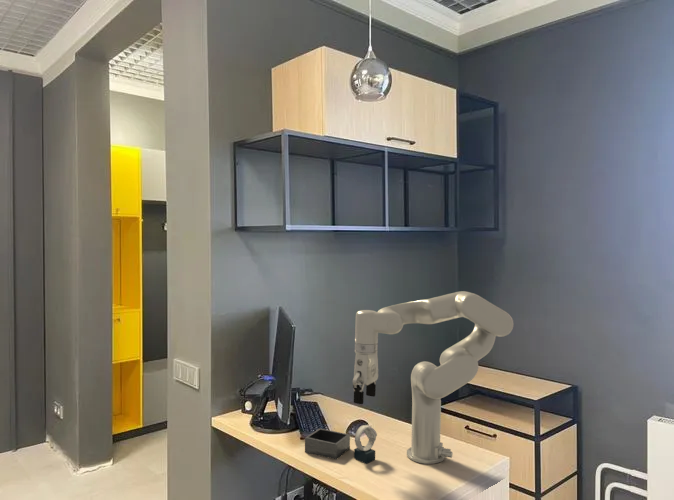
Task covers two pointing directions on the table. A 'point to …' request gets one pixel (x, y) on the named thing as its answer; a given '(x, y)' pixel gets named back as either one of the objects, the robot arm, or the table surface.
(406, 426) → the table surface
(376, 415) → the table surface
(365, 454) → the watch
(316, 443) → the open box
